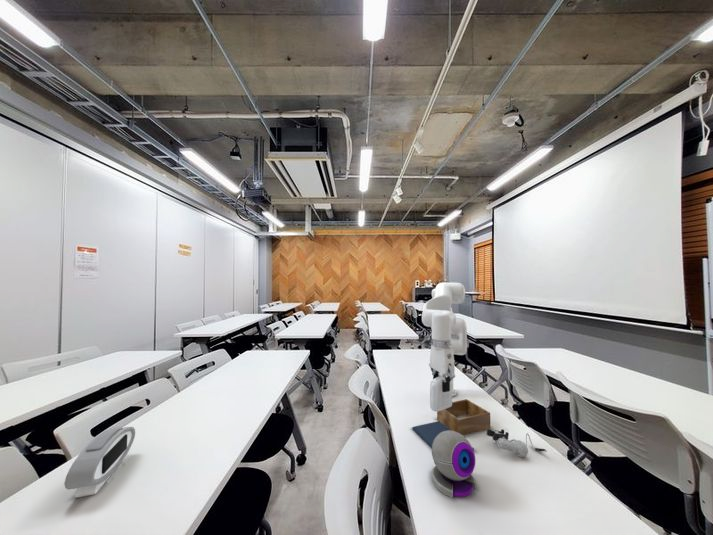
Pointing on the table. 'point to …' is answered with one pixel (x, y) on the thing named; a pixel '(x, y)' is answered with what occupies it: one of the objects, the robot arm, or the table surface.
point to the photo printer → (439, 395)
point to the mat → (430, 431)
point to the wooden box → (468, 424)
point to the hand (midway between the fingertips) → (441, 388)
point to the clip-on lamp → (510, 442)
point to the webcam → (453, 464)
